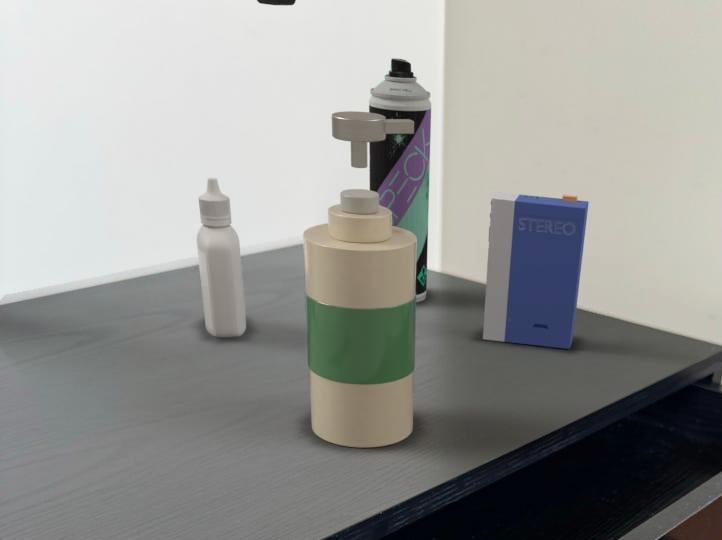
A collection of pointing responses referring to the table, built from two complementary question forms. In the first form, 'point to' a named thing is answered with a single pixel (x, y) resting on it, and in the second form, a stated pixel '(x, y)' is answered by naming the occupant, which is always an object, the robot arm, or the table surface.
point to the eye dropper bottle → (220, 265)
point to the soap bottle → (360, 323)
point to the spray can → (404, 159)
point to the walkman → (534, 269)
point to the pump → (366, 131)
